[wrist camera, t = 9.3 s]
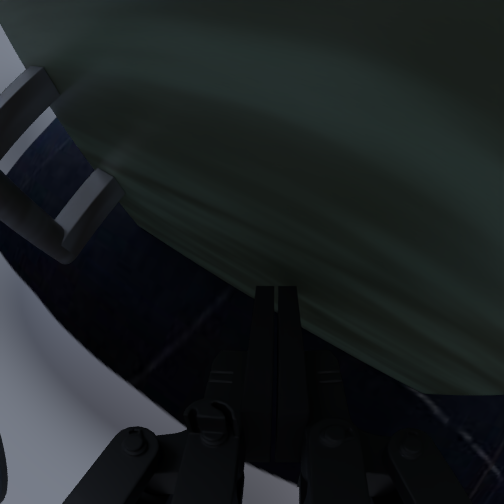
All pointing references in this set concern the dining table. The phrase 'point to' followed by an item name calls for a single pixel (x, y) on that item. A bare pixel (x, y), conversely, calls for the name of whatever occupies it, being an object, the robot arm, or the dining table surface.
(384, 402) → the dining table surface
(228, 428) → the robot arm
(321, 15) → the cupboard door
